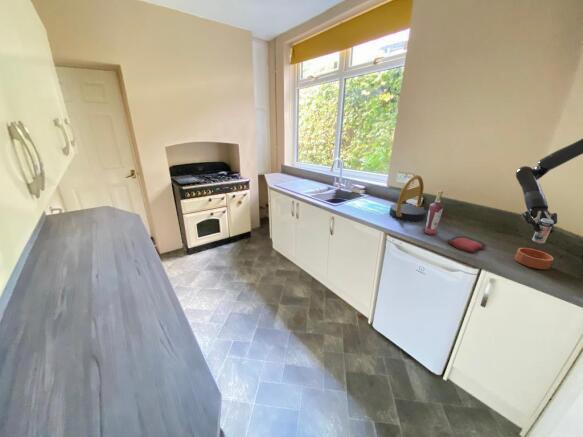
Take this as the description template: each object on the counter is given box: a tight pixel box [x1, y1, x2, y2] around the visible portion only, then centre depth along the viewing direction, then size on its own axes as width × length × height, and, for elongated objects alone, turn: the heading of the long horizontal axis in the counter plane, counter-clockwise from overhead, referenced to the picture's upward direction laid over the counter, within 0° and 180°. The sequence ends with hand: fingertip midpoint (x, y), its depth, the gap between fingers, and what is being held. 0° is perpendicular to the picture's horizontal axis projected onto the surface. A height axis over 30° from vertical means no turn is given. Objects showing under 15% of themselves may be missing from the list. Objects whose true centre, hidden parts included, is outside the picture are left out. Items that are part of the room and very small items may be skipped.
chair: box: [388, 174, 427, 223], centre depth 173 cm, size 25×35×32 cm
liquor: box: [423, 189, 445, 236], centre depth 145 cm, size 7×7×28 cm
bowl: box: [514, 247, 554, 270], centre depth 116 cm, size 13×13×6 cm
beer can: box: [531, 218, 554, 244], centre depth 115 cm, size 5×5×12 cm
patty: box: [447, 237, 484, 254], centre depth 134 cm, size 18×14×2 cm
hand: (544, 231), depth 114 cm, fingers closed on beer can, 5 cm apart
